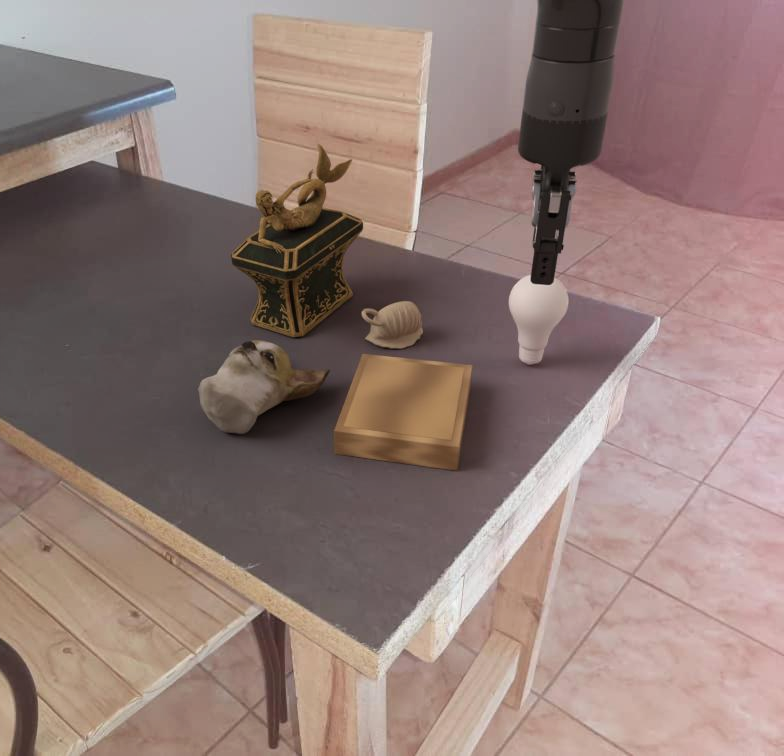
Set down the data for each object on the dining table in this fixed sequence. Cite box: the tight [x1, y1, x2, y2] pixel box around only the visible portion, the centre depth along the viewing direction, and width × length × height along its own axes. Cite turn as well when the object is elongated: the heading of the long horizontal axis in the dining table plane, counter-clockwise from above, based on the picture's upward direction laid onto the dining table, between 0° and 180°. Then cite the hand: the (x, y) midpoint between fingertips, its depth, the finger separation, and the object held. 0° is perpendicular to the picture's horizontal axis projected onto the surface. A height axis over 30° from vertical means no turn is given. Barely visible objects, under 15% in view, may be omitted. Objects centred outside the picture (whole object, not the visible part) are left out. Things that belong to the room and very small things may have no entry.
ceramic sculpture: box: [197, 339, 331, 435], centre depth 82 cm, size 11×9×15 cm
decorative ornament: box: [361, 300, 424, 350], centre depth 92 cm, size 4×8×5 cm, turn 108°
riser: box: [333, 353, 473, 471], centre depth 80 cm, size 12×14×3 cm
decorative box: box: [230, 143, 364, 338], centre depth 97 cm, size 20×10×20 cm, turn 144°
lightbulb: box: [508, 274, 570, 366], centre depth 85 cm, size 6×6×11 cm
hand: (542, 264), depth 81 cm, fingers open, 8 cm apart
